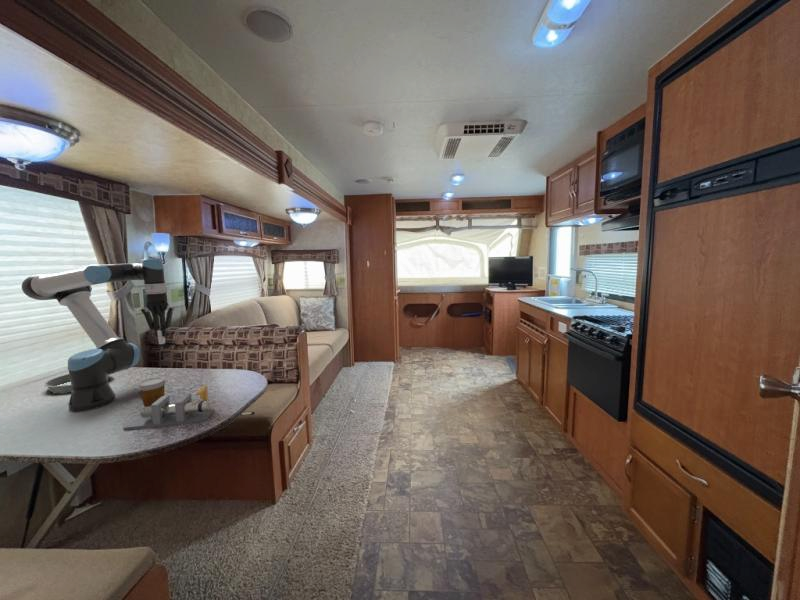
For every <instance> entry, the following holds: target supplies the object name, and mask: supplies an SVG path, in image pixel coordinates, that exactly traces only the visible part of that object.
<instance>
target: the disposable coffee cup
mask: <svg viewBox="0 0 800 600" xmlns="http://www.w3.org/2000/svg"><path fill="white" fill-rule="evenodd" d="M165 385H166V380H165V379H164V378H163V377H154V378H153V377H152V378H148V379H145V380H142V381H139V382H138V385H137V389H138V391H139V393H140V397H141V401H142V403H143V407H149V406H151V405H152V404H153V403H154V402H155V401H157V400H158V399H159V398H160V397H162V396H165Z"/></svg>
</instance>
